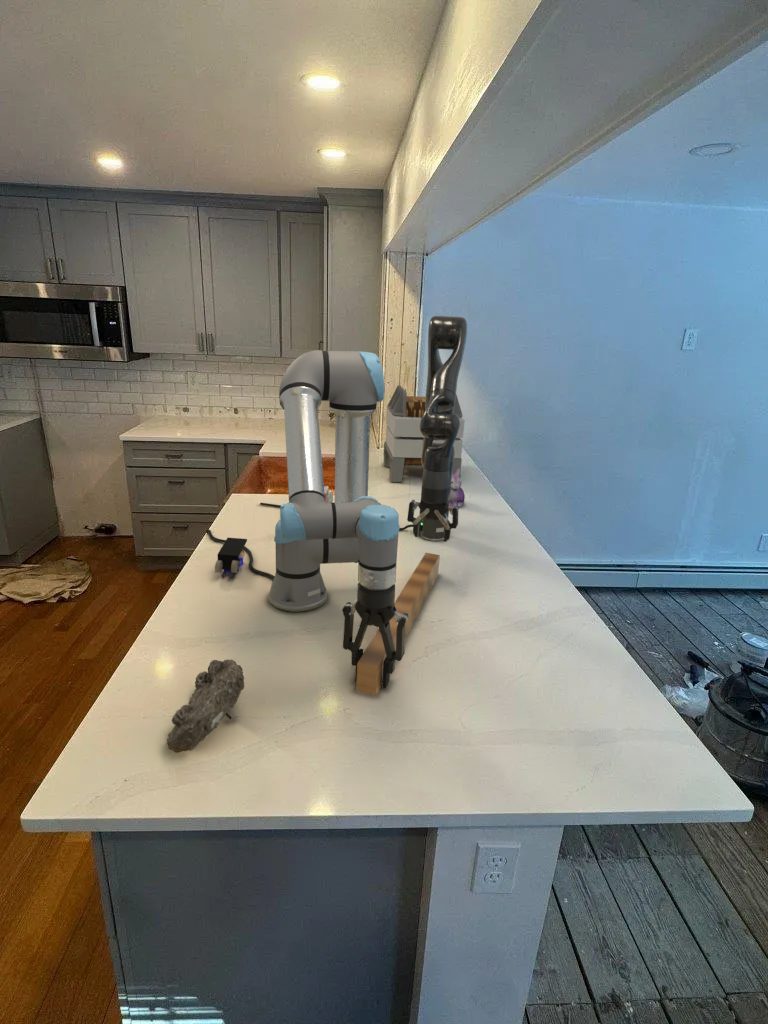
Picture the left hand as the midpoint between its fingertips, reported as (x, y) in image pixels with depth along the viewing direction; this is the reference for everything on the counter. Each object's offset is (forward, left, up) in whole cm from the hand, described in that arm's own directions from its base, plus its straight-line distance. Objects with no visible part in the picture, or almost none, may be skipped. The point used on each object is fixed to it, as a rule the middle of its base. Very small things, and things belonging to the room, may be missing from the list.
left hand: (372, 681), depth 120 cm
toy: (-95, +29, 0) cm, 100 cm away
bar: (-17, +19, 0) cm, 26 cm away
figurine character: (-66, -11, 0) cm, 66 cm away
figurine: (-86, +87, 0) cm, 123 cm away
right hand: (-35, +39, +13) cm, 53 cm away
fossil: (-5, -32, 0) cm, 33 cm away
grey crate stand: (-131, +101, 0) cm, 165 cm away
